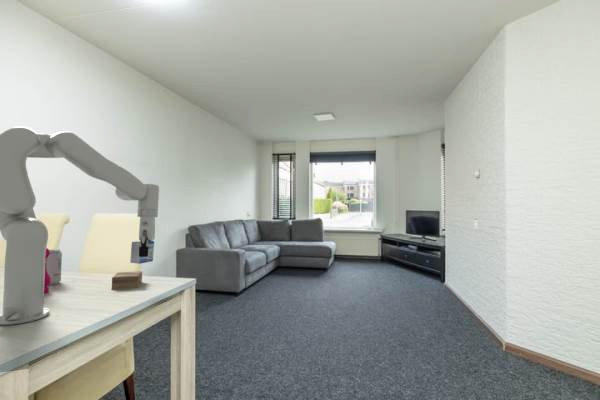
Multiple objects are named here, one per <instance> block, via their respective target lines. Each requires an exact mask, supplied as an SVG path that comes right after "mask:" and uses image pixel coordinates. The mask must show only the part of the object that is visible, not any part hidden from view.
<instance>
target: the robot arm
mask: <svg viewBox="0 0 600 400" xmlns="http://www.w3.org/2000/svg"><path fill="white" fill-rule="evenodd" d="M28 158H30V159H31V158H33V159H35V158H37V159H38V158H39V159H60V158H63V159H65V160H67V161H68V162H70V163H71V164H72V165H74V166H75V167H76V168H78V169H79V170H81V171H82V172H83V173H85V175H88V176H90V177H92V178H94V179H96V180H100V181H103V182H106V183H107V184H110V185H112V186H113V187H115V195H116V196H117V198H119V199H120V200H123V201H129V202H130V201H137V216H136V217H137V218H140V219H139V229H138V230H139V231H138V241H140V247H139V257H147V256H148V241H154V240H155V239H156V237H155V236H156V235H155V233H156V231H155V230H156V218H158V214H159V200H160V199H159V197H160V187H159V185H158V184H155V183H154V184H153V183H144V182H143V181H141V180H140V179H139V178H137V176H135V175H133V174H132V172H130V171H128V170H126V168H123V167H122V166H121V165H118V164H117V163H115V162H113V161H112V160H110V159H108V158H106V157H105V156H103V155H102V154H101V153H100V152H99V151H97V150H96V148H94V147H92V146H91V145H89V144H88V143H87V142H86V141H84V140H83V139H82V138H81V137H79V136H78V135H77V134H75V133H74V132H72V131H65V130H64V131H63V130H62V131H59V132H56V133H53V134H51V133H50V134H49V133H37V132H36V131H35V130H33V129H32V128H30V127H27V126H15V127H11V128H8V129H7V130H5V131H4V132H2V133H1V134H0V233H1V236H2V238H3V239H4V240H5V241H6V247H5V257H4V269H3V270H4V273H3V275H4V279H3V302H2V314H0V326H1V325H4V326H10V325H20V324H25V323H30V322H33V321H37V320H39V319H43V318H45V317H47V316H48V315H49V314H50V308H47V307H44V306H45V305H44V303H45V301H44V300H45V294H44V281H45V256H46V248H48V241H49V231H48V227H47V226H46V225H45V224H44V222H42V221H41V220H39V219H37V216H36V214H35V210H34V207H35V206H36V203H37V201H36V195H35V193H34V191H33V188H32V184H31V181H30V178H29V173H28V169H27V159H28Z"/></svg>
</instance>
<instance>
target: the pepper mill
mask: <svg viewBox="0 0 600 400" xmlns="http://www.w3.org/2000/svg"><path fill="white" fill-rule="evenodd" d="M49 250H50V249H49V248H48V247H46V256H45V281H44V295H45V294H48V293H49V291H50V287H49V286H50V285H49V284H50V282H51V279H50V276H49V274H48V272H47V270H46V263H47V262H48V259H47V257H48V256H49V255H50V251H49Z"/></svg>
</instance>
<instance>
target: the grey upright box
mask: <svg viewBox="0 0 600 400" xmlns="http://www.w3.org/2000/svg"><path fill="white" fill-rule="evenodd" d="M49 251H50V255H49V256H48V257H47V259H48V262H47V263H46V270H47V272H48V274H49V276H50V279H51V282H50V284H49V285H48V286H53V285H58V284H60V282H61V281H62V261H63V259H62V257H63V253H62V251H61V249H58V248H57V249H55V248H54V249H49Z"/></svg>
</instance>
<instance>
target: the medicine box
mask: <svg viewBox="0 0 600 400" xmlns="http://www.w3.org/2000/svg"><path fill="white" fill-rule="evenodd" d="M139 247H140V240H138V241H137V240H136V241H131V248H130V261H129V262H130V263H131V264H138V265H139V264H140V265H141V264H145V263H150V262H151V263H152V262H154V250H155V241H154V240H153V241H148V256H147V257H139Z"/></svg>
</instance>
